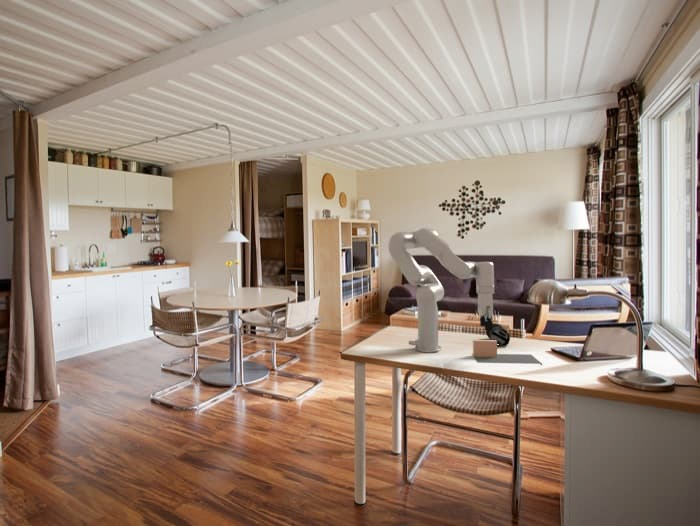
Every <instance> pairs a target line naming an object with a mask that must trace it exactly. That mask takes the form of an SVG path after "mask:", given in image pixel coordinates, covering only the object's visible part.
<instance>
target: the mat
mask: <svg viewBox="0 0 700 526" xmlns="http://www.w3.org/2000/svg"><path fill="white" fill-rule="evenodd" d="M471 355H472V356H473V353H471ZM473 358H474V359H475V361H476V362H477V363H481V364H484V363H487V364H530V365H531V364H534V365H535V364H537V365H541V366H543V363H542V362H540V360H538V359H537V358H536V357H535V356H533V355H532V354H520V353H517V354H516V353H514V354H513V353H497V357H474V356H473Z"/></svg>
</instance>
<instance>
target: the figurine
mask: <svg viewBox="0 0 700 526" xmlns="http://www.w3.org/2000/svg"><path fill="white" fill-rule="evenodd" d="M485 333H486V336H487V337H488V338H489V339H488V340H496V341H497V344H499V345H498V346H502V347H503V346H504V347H506V346H508V344H509V343H510V341H511V337H510V336H511V335H510V334H509V332H508V331H507V330H506V329H505V328H504V327H503V326H502V325H501V324H500V323H497V322H493V330H492V331H486V330H485Z"/></svg>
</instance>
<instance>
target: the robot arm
mask: <svg viewBox="0 0 700 526" xmlns="http://www.w3.org/2000/svg"><path fill="white" fill-rule="evenodd" d="M417 248H423V249H424V250H425V251H427V253H429V254H431V255H432V256H433V257H435V258H436V259H437V260H438V261H439V263H440V264H441V266H443V267H444V268H445V269H446V270H447V271H448V272H449V273H451V274H452V275H454V276H455V277H456V278H458V279H460V280H467V279H471V278H475V280H476V282H475V285H476V288H475V289H476V294H477V314H478V315H479V317H480V318H479V321H480V322H479V326H480V327H484V330H485V332H486V331H492V330H493V323H494V322H493V315H494V303H493V302H494V301H493V299H494V297H493V295H494V294H495V271H494V270H495V267H494V266H495V265H494V263H493V262H491V261H478V262H477V261H464V260H462V259H461V258H460V257H459V256H457V255H456V254H455V253H454V252H453V250H452V248H451V245H450V244H449V243H448V242H446V241H445V240H444V239H442V238H441V237H440V236H439V233H438V232H437V231H436V230H435V229H433V228H427V227H425V228H420V229H418V230H416V231H398V232H395V233H394V234H392V235H391V237H390V238H389V241H388V252H389V254H390V257H391V258H392V260H393V261H394V262H395V264H396V265H397V267H398V268H399V270H400V272H401V273H402V274H403V276H404V277H405V279H406V280H407V282H408V283H409V284H410V285H412V286H419V287H418V288H417V290H416V295H415V299H416V305H417V321H418V322H417V338H416V339H415V340H408V345H410V346H414V349H415V351H418V352H420V353H429V354H430V353H438V352H440V351H442V348H443V347H442V346H441V345H439V309H438V308H439V307H438V304H437V302H439V301H441V300H442V299H443V298H444V296H445V289H444V286H443V285H442V283H441V282H440V281H439V279H438V278H437V276H436V274H434V272H433V271H432V269H430V268H429V266H427V265H424V264H418V263H417V261H416V260H415V258H414V256H412V254H410V252H408V250H409V249H410V250H411V249H417Z"/></svg>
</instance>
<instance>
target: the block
mask: <svg viewBox="0 0 700 526" xmlns="http://www.w3.org/2000/svg"><path fill="white" fill-rule="evenodd" d="M472 354H473V355H472V356H473V358H474V357H497V354H498V345H497V341H496V340H490V339H472Z"/></svg>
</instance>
